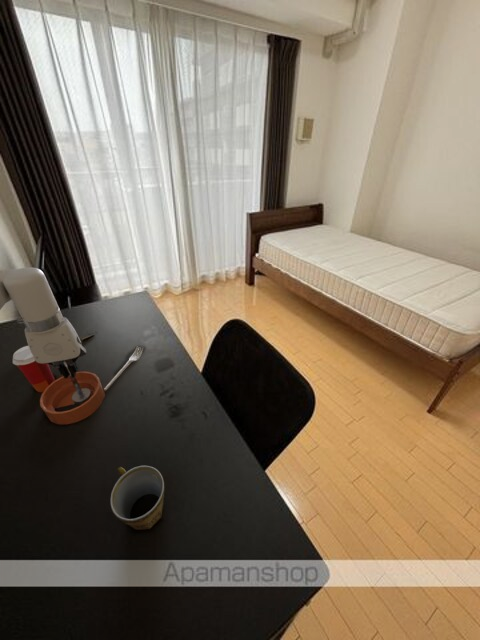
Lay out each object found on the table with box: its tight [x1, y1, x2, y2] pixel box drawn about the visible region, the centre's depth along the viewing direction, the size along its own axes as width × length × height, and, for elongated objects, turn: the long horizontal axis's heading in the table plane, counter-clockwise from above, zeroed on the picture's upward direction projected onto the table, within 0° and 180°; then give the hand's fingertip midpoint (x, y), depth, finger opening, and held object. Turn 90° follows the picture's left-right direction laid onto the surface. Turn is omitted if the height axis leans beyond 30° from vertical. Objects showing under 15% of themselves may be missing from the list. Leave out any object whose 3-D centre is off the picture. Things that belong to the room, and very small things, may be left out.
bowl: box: [39, 371, 106, 425], centre depth 82 cm, size 15×15×6 cm
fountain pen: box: [80, 334, 95, 343], centre depth 106 cm, size 14×1×2 cm, turn 135°
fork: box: [103, 345, 144, 392], centre depth 95 cm, size 3×20×2 cm, turn 163°
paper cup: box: [12, 345, 56, 393], centre depth 86 cm, size 8×8×14 cm
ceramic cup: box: [109, 465, 165, 531], centre depth 58 cm, size 13×10×10 cm
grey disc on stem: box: [62, 360, 92, 406], centre depth 79 cm, size 5×5×16 cm
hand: (70, 373), depth 78 cm, fingers closed on grey disc on stem, 1 cm apart
